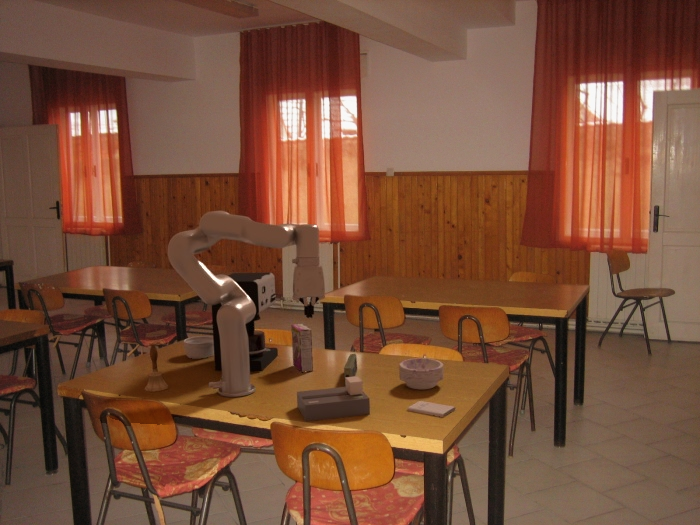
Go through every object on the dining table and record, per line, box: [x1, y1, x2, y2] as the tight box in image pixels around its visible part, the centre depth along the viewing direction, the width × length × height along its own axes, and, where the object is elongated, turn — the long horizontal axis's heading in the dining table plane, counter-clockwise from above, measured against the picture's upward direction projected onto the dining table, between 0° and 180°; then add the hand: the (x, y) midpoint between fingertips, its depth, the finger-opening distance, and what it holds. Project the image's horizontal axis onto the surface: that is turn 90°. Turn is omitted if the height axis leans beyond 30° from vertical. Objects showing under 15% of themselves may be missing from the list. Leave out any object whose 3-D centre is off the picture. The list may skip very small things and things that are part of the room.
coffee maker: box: [211, 272, 279, 373], centre depth 271 cm, size 28×20×35 cm
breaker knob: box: [344, 375, 364, 395], centre depth 216 cm, size 4×6×4 cm, turn 14°
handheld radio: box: [343, 353, 358, 387], centre depth 248 cm, size 7×3×25 cm
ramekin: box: [183, 335, 214, 360], centre depth 289 cm, size 13×13×7 cm
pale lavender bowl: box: [398, 357, 444, 391], centre depth 238 cm, size 15×15×8 cm
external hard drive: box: [407, 400, 456, 418], centre depth 213 cm, size 2×8×12 cm
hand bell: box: [144, 343, 169, 393], centre depth 244 cm, size 8×8×16 cm
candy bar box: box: [290, 323, 314, 373], centre depth 264 cm, size 11×5×16 cm, turn 22°
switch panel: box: [296, 386, 371, 422], centre depth 215 cm, size 20×14×5 cm
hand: (309, 316), depth 228 cm, fingers closed
